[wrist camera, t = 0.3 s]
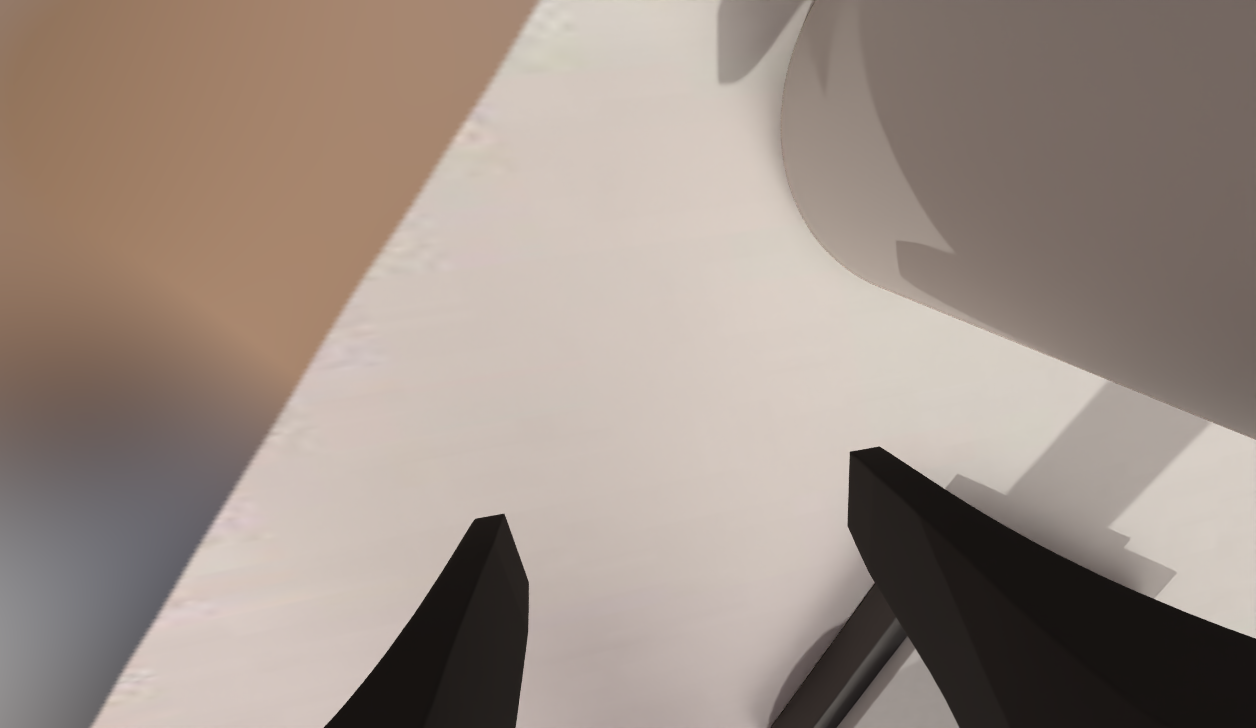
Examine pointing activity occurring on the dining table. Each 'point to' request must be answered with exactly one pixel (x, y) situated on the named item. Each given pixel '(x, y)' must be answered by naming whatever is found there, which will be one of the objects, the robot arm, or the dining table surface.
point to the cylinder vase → (1046, 176)
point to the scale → (869, 679)
